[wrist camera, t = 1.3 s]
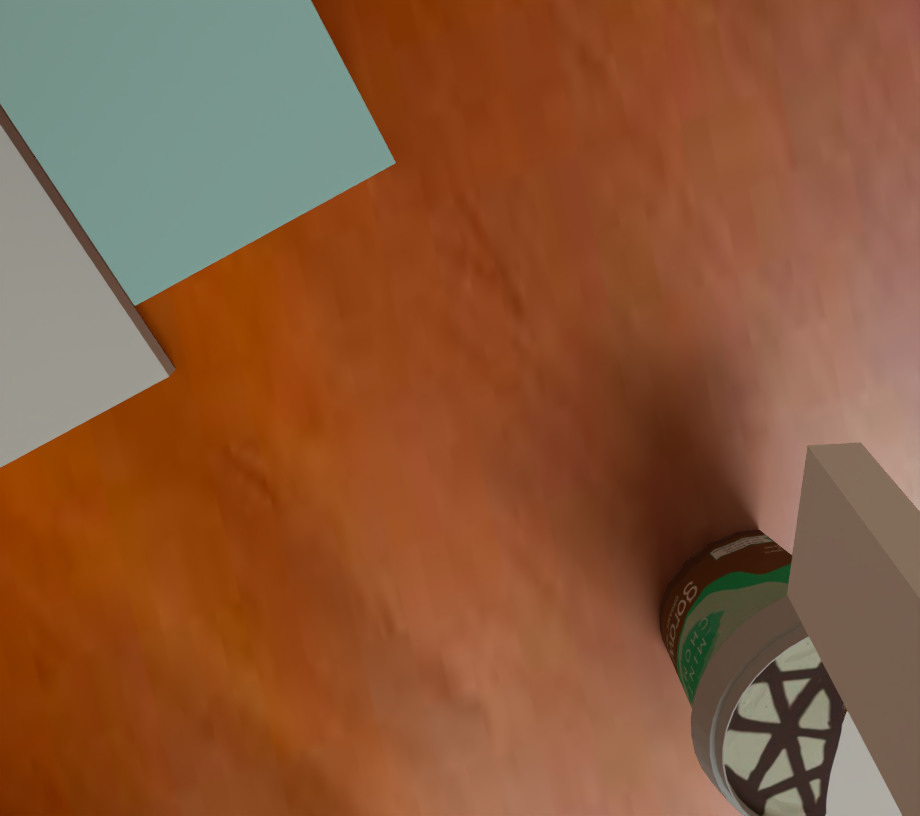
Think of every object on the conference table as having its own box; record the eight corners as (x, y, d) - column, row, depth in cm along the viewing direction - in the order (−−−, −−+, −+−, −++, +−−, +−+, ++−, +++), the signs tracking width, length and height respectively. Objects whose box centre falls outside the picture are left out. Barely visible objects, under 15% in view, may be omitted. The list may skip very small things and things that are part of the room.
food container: (643, 509, 42) (720, 617, 33) (761, 502, 42) (871, 607, 33) (632, 715, 46) (698, 866, 36) (741, 707, 46) (834, 854, 37)
